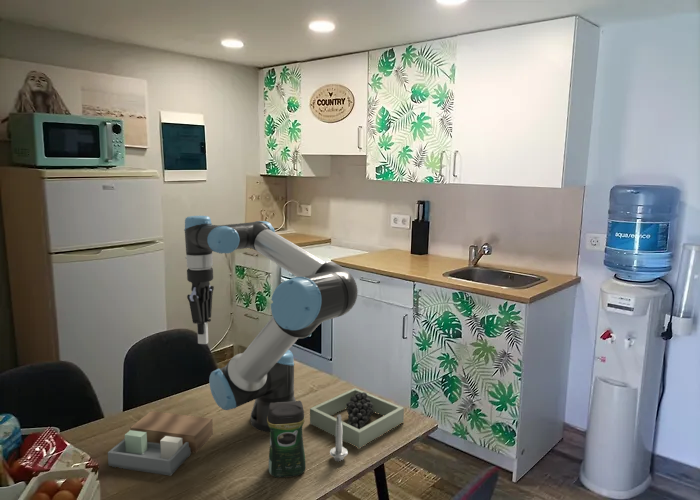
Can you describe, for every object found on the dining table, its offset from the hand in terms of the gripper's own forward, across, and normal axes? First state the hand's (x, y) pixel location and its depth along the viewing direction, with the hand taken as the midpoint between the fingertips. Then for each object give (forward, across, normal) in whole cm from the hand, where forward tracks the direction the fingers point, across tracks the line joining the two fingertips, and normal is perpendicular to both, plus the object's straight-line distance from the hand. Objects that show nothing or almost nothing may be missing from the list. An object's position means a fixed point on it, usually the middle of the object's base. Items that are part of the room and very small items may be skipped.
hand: (203, 343), depth 157 cm
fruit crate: (+25, -5, +47) cm, 53 cm away
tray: (+24, +25, -4) cm, 35 cm away
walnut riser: (+24, +14, -4) cm, 28 cm away
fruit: (+25, -5, +47) cm, 54 cm away
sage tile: (+21, +22, -10) cm, 31 cm away
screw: (+25, +15, +45) cm, 54 cm away
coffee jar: (+25, +22, +33) cm, 47 cm away
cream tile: (+21, +22, +2) cm, 31 cm away
